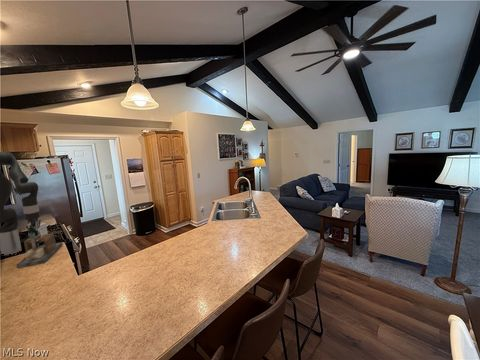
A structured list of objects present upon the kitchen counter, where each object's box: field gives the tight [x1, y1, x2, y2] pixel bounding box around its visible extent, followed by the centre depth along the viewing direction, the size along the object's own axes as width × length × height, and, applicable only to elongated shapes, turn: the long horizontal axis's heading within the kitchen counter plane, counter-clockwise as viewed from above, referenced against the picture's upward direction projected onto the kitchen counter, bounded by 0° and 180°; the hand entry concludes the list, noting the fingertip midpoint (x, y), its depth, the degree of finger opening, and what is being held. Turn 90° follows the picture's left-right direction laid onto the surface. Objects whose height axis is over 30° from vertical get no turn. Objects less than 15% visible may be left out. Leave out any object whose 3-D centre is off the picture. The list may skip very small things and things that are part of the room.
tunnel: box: [16, 232, 64, 269], centre depth 144 cm, size 14×28×14 cm, turn 22°
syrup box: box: [36, 222, 49, 243], centre depth 170 cm, size 6×6×14 cm
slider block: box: [25, 231, 45, 260], centre depth 136 cm, size 7×6×17 cm
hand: (35, 235), depth 139 cm, fingers closed
